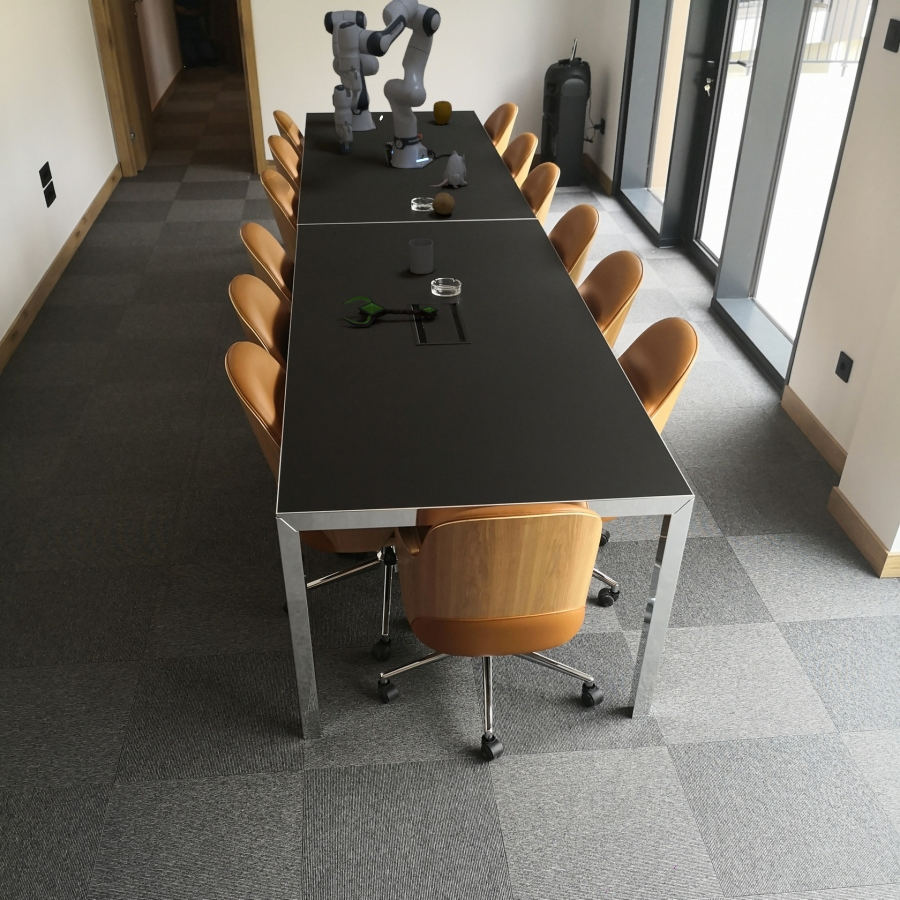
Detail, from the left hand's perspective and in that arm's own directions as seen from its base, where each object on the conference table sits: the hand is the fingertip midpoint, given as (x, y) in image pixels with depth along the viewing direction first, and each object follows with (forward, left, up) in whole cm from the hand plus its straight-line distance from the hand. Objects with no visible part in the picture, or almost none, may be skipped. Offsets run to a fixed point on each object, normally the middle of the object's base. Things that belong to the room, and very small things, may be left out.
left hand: (345, 147), depth 450 cm
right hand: (+62, +15, +36) cm, 73 cm away
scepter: (+210, +47, -2) cm, 215 cm away
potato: (+102, +57, -2) cm, 117 cm away
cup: (+167, +53, -2) cm, 175 cm away
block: (0, 0, -2) cm, 2 cm away
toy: (+65, +57, -2) cm, 86 cm away
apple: (-66, +47, -2) cm, 81 cm away
